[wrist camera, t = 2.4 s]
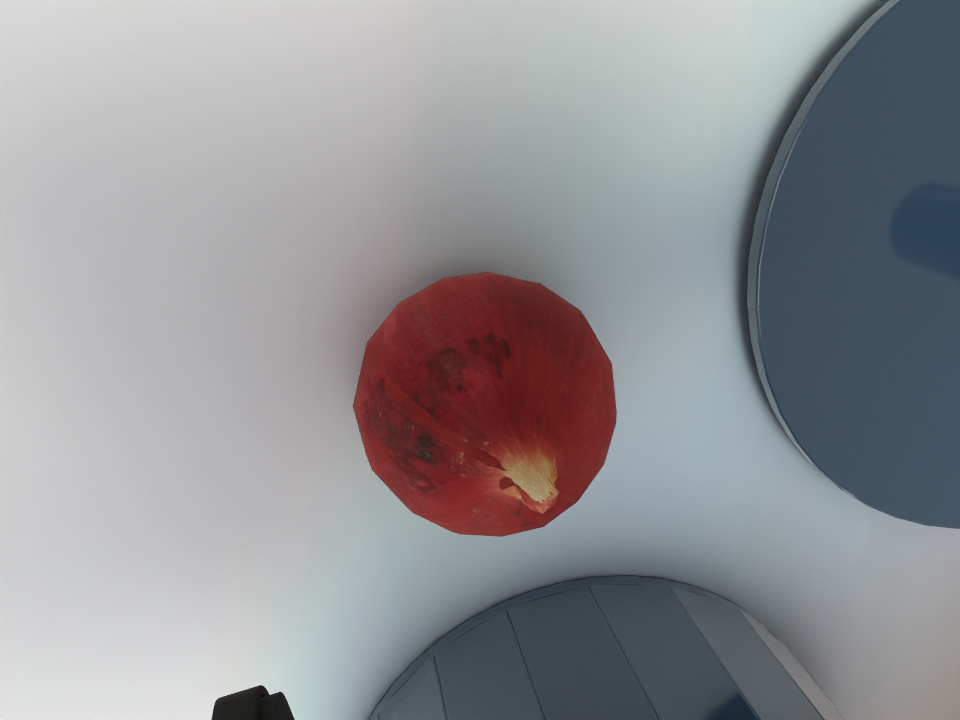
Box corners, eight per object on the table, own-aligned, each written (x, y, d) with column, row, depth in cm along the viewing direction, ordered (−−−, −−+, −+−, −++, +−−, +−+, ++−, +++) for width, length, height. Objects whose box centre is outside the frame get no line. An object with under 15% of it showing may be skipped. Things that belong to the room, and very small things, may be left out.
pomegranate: (331, 437, 24) (340, 608, 16) (371, 225, 22) (402, 307, 15) (538, 465, 25) (634, 636, 18) (590, 267, 24) (718, 362, 16)
